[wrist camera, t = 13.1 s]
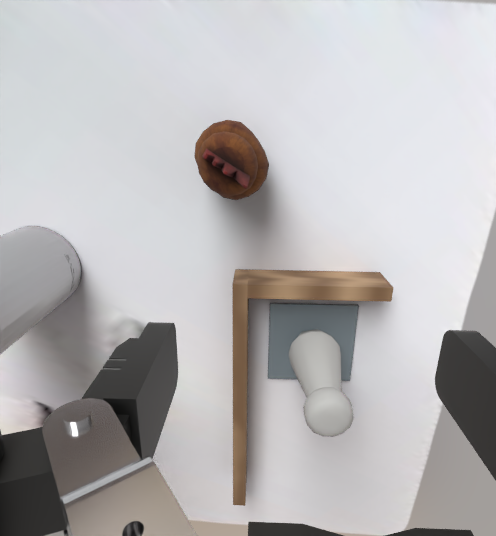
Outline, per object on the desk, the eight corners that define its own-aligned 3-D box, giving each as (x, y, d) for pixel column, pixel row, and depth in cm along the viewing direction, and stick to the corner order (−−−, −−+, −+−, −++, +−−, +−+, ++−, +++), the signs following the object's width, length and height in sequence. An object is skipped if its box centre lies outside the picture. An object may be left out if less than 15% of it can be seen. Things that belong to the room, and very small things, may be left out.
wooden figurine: (277, 168, 39) (287, 188, 25) (232, 201, 40) (216, 237, 26) (238, 110, 37) (225, 95, 23) (192, 146, 38) (152, 152, 24)
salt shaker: (310, 312, 44) (330, 381, 31) (347, 341, 45) (379, 419, 33) (277, 346, 45) (283, 425, 33) (313, 373, 46) (332, 459, 34)
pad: (267, 376, 47) (267, 378, 47) (270, 302, 44) (270, 304, 44) (349, 379, 47) (349, 380, 47) (357, 304, 44) (358, 306, 43)
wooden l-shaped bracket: (235, 475, 52) (233, 505, 48) (235, 269, 43) (232, 284, 38) (352, 479, 52) (360, 509, 48) (379, 272, 42) (393, 287, 38)
